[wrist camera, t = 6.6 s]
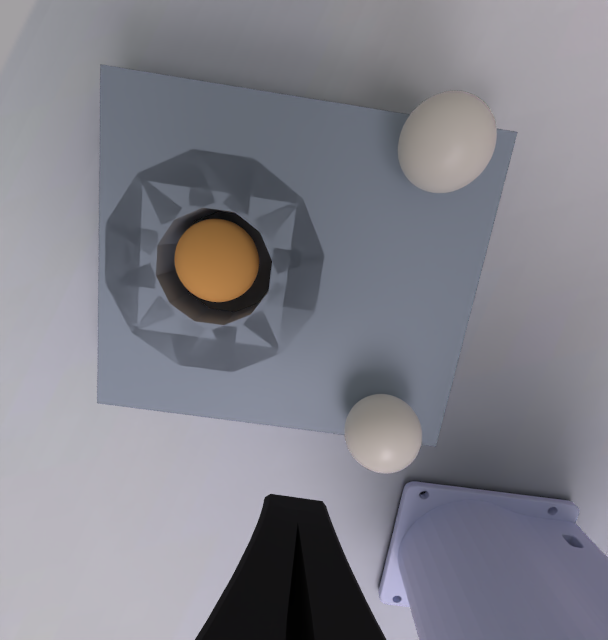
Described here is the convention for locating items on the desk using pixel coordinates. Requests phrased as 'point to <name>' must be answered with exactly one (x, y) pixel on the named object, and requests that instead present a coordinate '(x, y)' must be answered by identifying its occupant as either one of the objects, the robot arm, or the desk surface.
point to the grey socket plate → (280, 256)
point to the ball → (216, 260)
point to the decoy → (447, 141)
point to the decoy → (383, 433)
